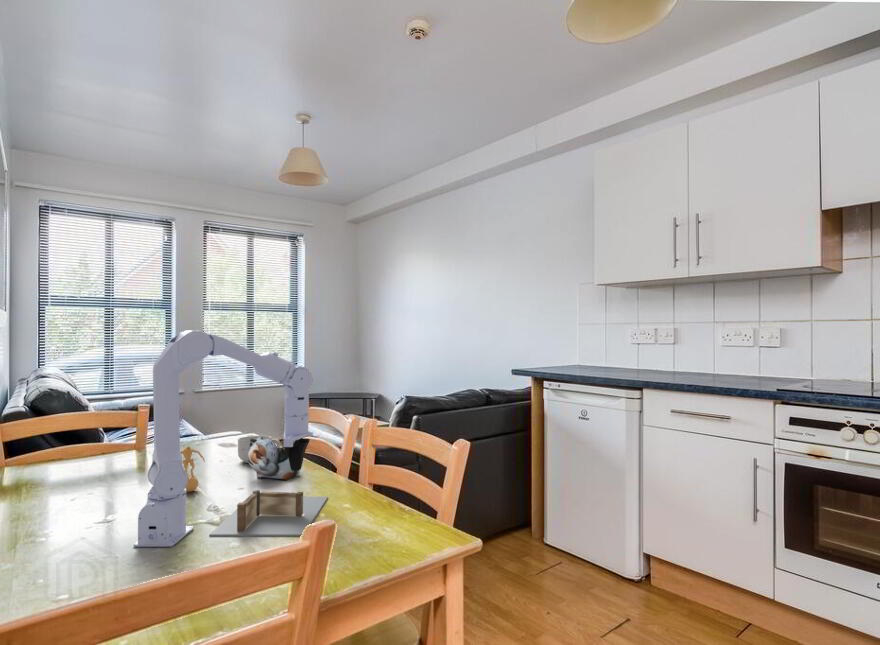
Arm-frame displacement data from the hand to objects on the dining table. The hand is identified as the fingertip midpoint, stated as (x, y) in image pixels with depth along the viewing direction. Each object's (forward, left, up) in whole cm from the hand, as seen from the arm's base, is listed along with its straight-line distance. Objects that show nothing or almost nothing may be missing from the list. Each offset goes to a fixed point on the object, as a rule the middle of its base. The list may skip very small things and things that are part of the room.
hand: (296, 469), depth 124 cm
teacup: (+43, +24, -10) cm, 50 cm away
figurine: (+13, +33, -10) cm, 36 cm away
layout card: (-5, +4, -9) cm, 11 cm away
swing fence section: (-7, +2, -9) cm, 11 cm away
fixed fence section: (-10, +8, -9) cm, 16 cm away
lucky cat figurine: (+26, +14, -10) cm, 31 cm away
